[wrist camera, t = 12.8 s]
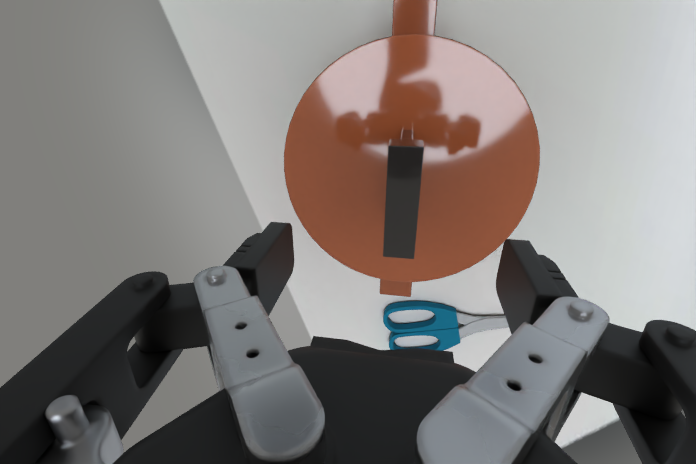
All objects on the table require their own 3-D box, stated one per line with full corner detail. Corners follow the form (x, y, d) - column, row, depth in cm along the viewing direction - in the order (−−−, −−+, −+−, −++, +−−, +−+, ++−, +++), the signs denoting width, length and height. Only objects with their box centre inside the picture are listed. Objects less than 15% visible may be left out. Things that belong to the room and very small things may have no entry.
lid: (296, 264, 29) (266, 317, 23) (280, 36, 22) (233, 28, 16) (508, 282, 27) (534, 345, 21) (562, 34, 20) (624, 24, 14)
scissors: (380, 309, 40) (588, 289, 35) (381, 303, 40) (584, 283, 36) (391, 357, 42) (587, 344, 38) (391, 351, 43) (583, 338, 38)
